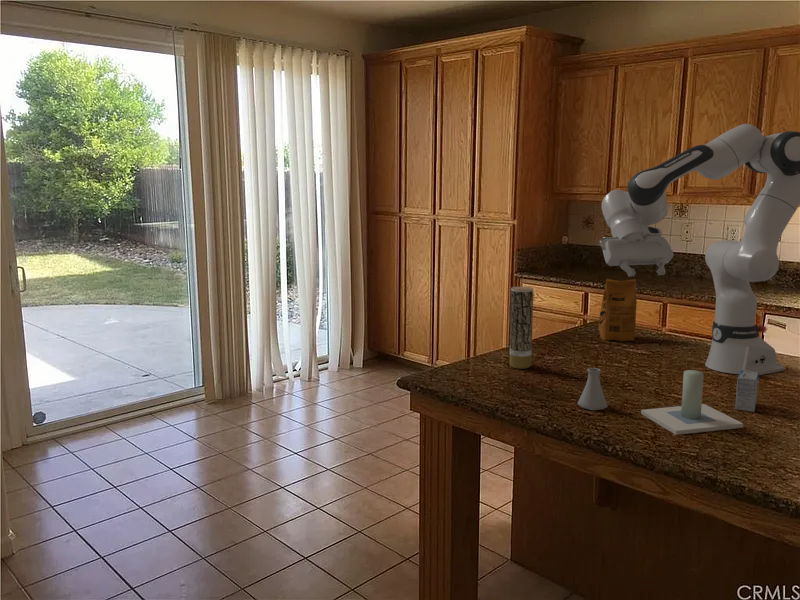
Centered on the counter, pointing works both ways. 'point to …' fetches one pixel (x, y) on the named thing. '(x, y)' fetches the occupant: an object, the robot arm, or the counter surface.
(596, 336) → the counter surface
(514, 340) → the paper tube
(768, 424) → the counter surface
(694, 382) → the pale green cylinder
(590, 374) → the flask
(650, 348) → the counter surface
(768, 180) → the robot arm
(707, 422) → the card
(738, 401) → the medicine box
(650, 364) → the counter surface
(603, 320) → the coffee package
